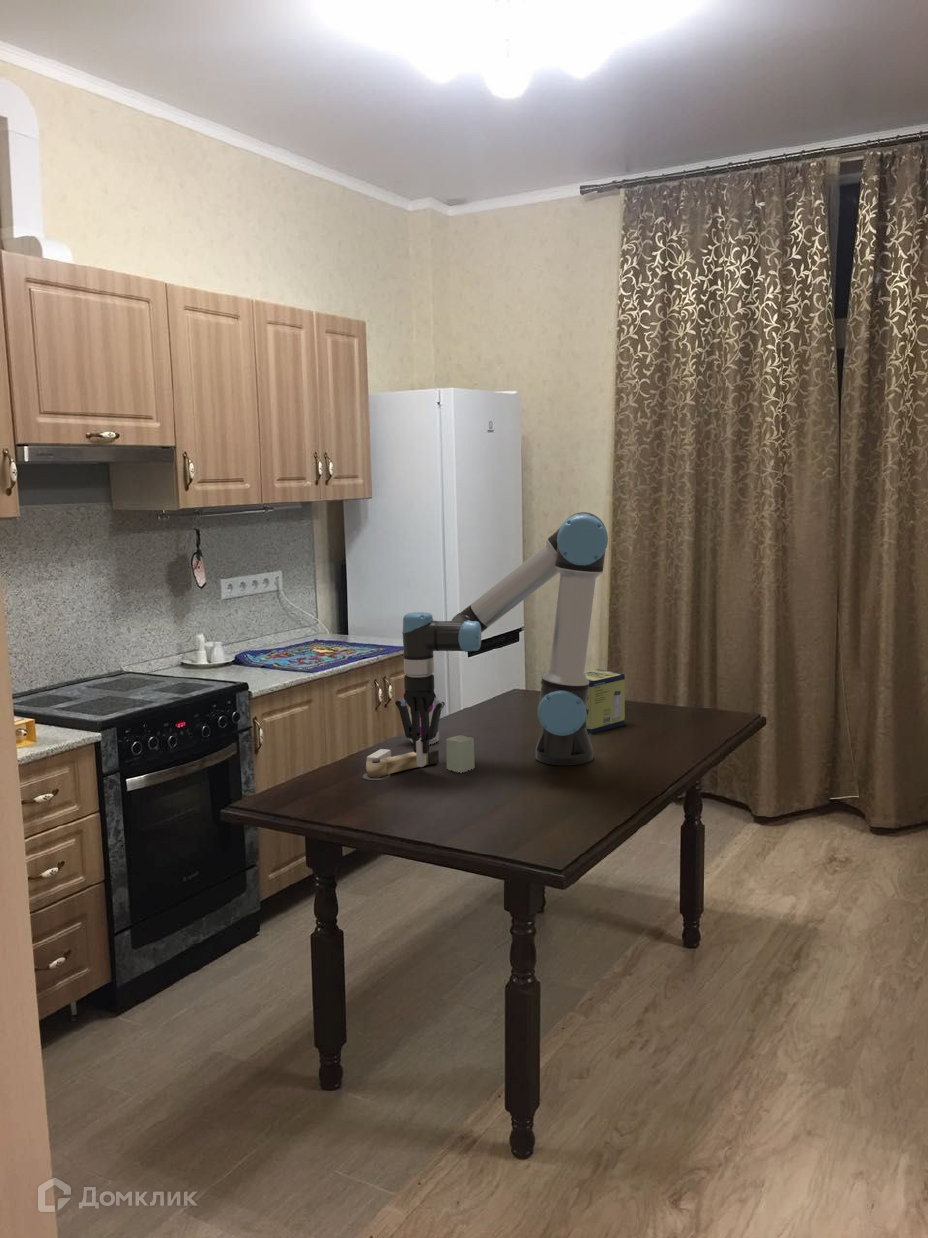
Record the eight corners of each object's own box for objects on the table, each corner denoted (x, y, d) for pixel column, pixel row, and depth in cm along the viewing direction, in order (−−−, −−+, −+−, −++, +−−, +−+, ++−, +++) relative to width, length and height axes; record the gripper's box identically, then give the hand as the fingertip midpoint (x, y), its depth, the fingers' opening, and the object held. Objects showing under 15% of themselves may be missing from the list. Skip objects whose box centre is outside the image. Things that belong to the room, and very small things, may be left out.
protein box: (563, 728, 305) (563, 676, 303) (598, 719, 316) (598, 668, 313) (591, 734, 298) (590, 681, 295) (625, 724, 308) (625, 673, 306)
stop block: (391, 761, 274) (390, 750, 274) (377, 770, 267) (377, 758, 266) (380, 760, 275) (380, 749, 275) (367, 769, 268) (366, 757, 268)
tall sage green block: (474, 768, 266) (473, 738, 265) (461, 773, 263) (460, 742, 262) (460, 765, 270) (459, 735, 269) (446, 769, 266) (446, 739, 265)
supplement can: (435, 746, 289) (434, 693, 286) (406, 745, 290) (405, 692, 288) (442, 738, 296) (440, 687, 294) (413, 738, 298) (412, 686, 296)
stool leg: (373, 778, 258) (373, 763, 257) (362, 774, 262) (362, 759, 261) (439, 762, 271) (439, 748, 270) (427, 758, 275) (427, 744, 274)
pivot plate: (395, 773, 263) (395, 772, 263) (383, 781, 257) (383, 780, 257) (370, 771, 266) (370, 770, 266) (357, 779, 260) (357, 778, 260)
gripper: (448, 672, 263) (450, 763, 266) (401, 670, 268) (404, 759, 271) (436, 678, 256) (439, 771, 259) (389, 675, 261) (392, 767, 264)
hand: (421, 765), depth 265 cm, fingers closed
